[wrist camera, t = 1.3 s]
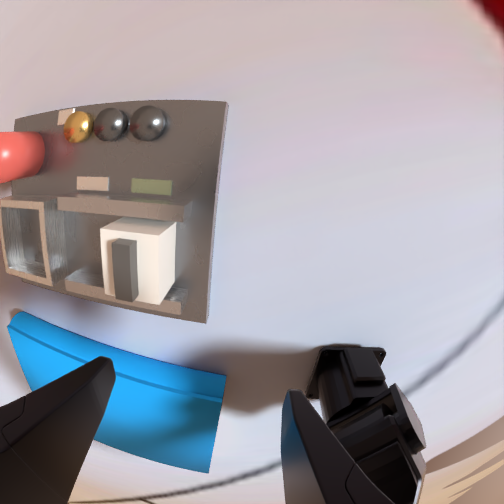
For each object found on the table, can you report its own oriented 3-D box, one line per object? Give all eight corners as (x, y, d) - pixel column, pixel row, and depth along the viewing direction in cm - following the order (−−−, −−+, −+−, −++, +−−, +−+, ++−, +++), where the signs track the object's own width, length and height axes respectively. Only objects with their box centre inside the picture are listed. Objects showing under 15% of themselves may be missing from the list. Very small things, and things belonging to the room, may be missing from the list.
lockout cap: (43, 176, 18) (2, 185, 13) (17, 177, 18) (-22, 186, 13) (46, 129, 16) (4, 129, 12) (19, 133, 16) (-20, 136, 12)
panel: (208, 315, 22) (199, 342, 19) (29, 276, 22) (7, 291, 19) (228, 105, 17) (220, 93, 14) (23, 119, 17) (-4, 119, 13)
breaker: (174, 281, 20) (154, 313, 16) (126, 273, 20) (98, 301, 16) (176, 221, 19) (152, 240, 14) (124, 216, 18) (91, 232, 14)
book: (210, 473, 27) (43, 417, 26) (213, 448, 31) (55, 399, 30) (223, 397, 21) (3, 324, 20) (228, 364, 25) (24, 306, 24)
